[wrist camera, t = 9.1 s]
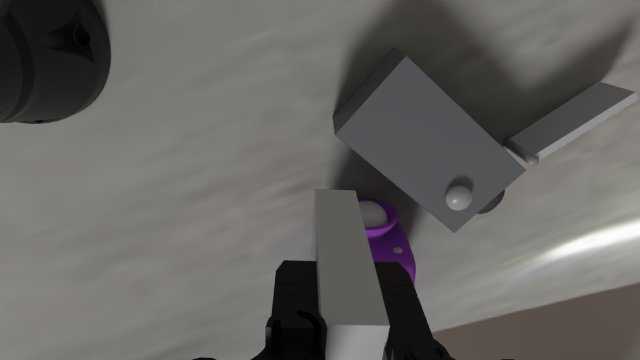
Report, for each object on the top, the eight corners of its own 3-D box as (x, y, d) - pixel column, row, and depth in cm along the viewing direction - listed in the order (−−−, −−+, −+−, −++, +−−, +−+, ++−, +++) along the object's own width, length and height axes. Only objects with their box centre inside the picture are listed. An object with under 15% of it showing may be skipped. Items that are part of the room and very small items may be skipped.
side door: (596, 80, 40) (637, 91, 35) (602, 92, 40) (643, 105, 35) (501, 141, 42) (526, 160, 37) (507, 152, 43) (533, 172, 38)
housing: (332, 117, 41) (335, 137, 35) (394, 47, 38) (408, 56, 32) (447, 212, 46) (467, 245, 40) (509, 157, 43) (541, 183, 37)
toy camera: (397, 177, 44) (418, 222, 35) (410, 274, 50) (431, 336, 41) (302, 194, 45) (298, 243, 36) (325, 288, 51) (327, 352, 41)
